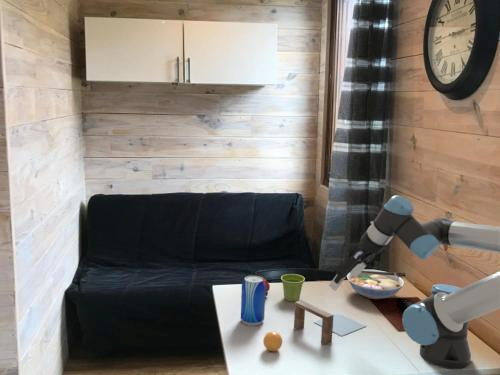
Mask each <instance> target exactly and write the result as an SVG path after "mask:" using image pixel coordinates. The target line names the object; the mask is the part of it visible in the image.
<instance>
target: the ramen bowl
mask: <svg viewBox="0 0 500 375" xmlns="http://www.w3.org/2000/svg"><path fill="white" fill-rule="evenodd" d="M352 270H353V269H352ZM352 270H351V271H352ZM351 271H350V272H351ZM350 272H349V273H348V274H347V275H346V278H347V280H348V283H349V284H350V286H351V288H352V289H353V290H354V291H355V292H356V293H358V294H360V295H361V296H363V297H366V298H368V299H371V300H381V299H386V298H390V297H393V296H394V295H396V294H397V293H398V292H400V290H401V289H402V288H403V286H404V285H405V284H404V283H405V281H404V280H403V279H402V278H401V277H406V273H405V272H393V271H392V272H388V271H383V270H377V269H363V271H362V272H361V273H360V274H359V276H358V277H357V278H355V277H354V276H353V275H352V274H351V273H350Z"/></svg>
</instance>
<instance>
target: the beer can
mask: <svg viewBox="0 0 500 375" xmlns="http://www.w3.org/2000/svg"><path fill="white" fill-rule="evenodd" d="M263 278H264V277H263ZM263 278H262V276H260V275H259V276H258V275H248V276H245V277H244V280H243V282H242V283H241V295H240V298H241V299H240V300H241V301H240V320H241V321H242V322H243V324H244V325H247V326H252V327H253V326H259V325H261V324H262V323H263V321H264V320H265V311H266V310H265V309H266V308H265V307H266V296H265V288H266V285H265V283H264V281H263Z"/></svg>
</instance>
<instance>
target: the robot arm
mask: <svg viewBox="0 0 500 375" xmlns="http://www.w3.org/2000/svg"><path fill="white" fill-rule="evenodd" d="M413 212H414V206H413V204H412V203H411V201H410V200H409V199H407V198H406V197H404V196H401V195H393V196H391V197H390V198H389V199H388V201H387V202H386V203H385V204H384V205H383V208H382V209H381V210H380V211H379V213H378V214H377V216H376V217H375V219H374V220H371V221H370V224H371V225H370V226H368V228H367V230H365V232H364V233H363V235H362V236H361V237H360V240H359V241H360V244H361V246H360V247H359V248H358V249H356V250H354V252H353V253H352V254H351V255H350V256H349V258H348V259H347V260H346V261H345V262H344V263H343V264H342V265H341V266H340V267H339V269H336V270H335V274H336V275H335V276H334V278H333V279H332V280H331V281H330V283H329V284H328V286H329V287H330V288H331V289H332V290H333V292H336V291H337V290H338V289H339V287H340V285H341V284H342V283H343V281H344V280H345V279H346V278H347V275H348V274H349V273H351V274H352V275H353V276H354V277H355V278H357V277H358V276H359V274H360V273H361V272H362V271H363V270H365V268H366V267H367V266H368V267H369V266H371V265H372V263H371V262H373V260H374V258H375V256H376V255H378V254H380V253H381V252H382V251H383V250H384V248H385V247H386V246H387V245H388V244H389V242H391V240H392V239H393V237H394V236H396V237H397V238H398V239H399V240H400V241H401V242H402V243H403V244H404V245H405V246H406V248H408V250H410V252H411V253H413V254H414V255H415V256H416V257H417V258H418V259H420V260H426V259H428V258H430V257H431V256H432V255H433V254H434V253H436V252H437V250H438V249H439V247H440V245H444V246H451V247H458V248H465V249H469V250H470V249H471V250H477V251H484V252H490V253H496V254H500V226H498V225H497V226H496V225H488V224H480V223H471V222H462V221H453V220H452V219H450V218H448V217H439V218H434V219H432V220H429V221H425V222H423V223H420V221H418V220H417V219H416V218H415V216H414V215H412V214H413ZM351 270H352V271H351ZM430 292H431V293H430V296H428V297H425V298H424V299H421V300H419V301H418V302H416V303H413V304H410V305H409V306H408V307H407V308H406V309H405V310H404V312H403V314H402V319H401V320H402V321H401V322H402V327H403V329H404V331H405V333H406V335H407V336H408V337H409V339H410V340H412V341H413V342H415V343H416V344H418V345H419V354H420V357H421V358H422V359H424V360H425V361H426V362H428V363H429V364H431V365H435V366H437V367H441V368H445V369H450V370H451V369H452V370H455V369H456V370H458V369H464V368H467V367H468V366H469V365H470V364H471V360H472V359H471V358H472V355H471V351H470V346H469V342H468V332H469V326H470V325H469V323H470V321H472V320H475V319H478V318H479V317H482V316H485V315H488V314H491V313H493V312H494V311H495V312H496V311H497V310H500V270H499V271H497V272H494V273H492V274H490V275H488V276H486V277H483V278H482V279H479V280H476V281H475V282H473V283H471V284H468V285H465V286H463V287H459V286H456V285H450V284H447V283H446V284H444V283H438V284H437V283H435V284H434V285H432V288H431V289H430Z"/></svg>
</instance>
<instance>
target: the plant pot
mask: <svg viewBox="0 0 500 375" xmlns="http://www.w3.org/2000/svg"><path fill="white" fill-rule="evenodd" d="M280 279H281V282H282V289H283V298H284V300H286V301H288V302H297V301H300V300H301V299H300V298H301V293H302V289H303V285H304V282H305V279H306V278H305V277H304V276H303V275H301V274H298V273H297V274H295V273H288V274H287V273H286V274H283V275H281V277H280Z"/></svg>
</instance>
